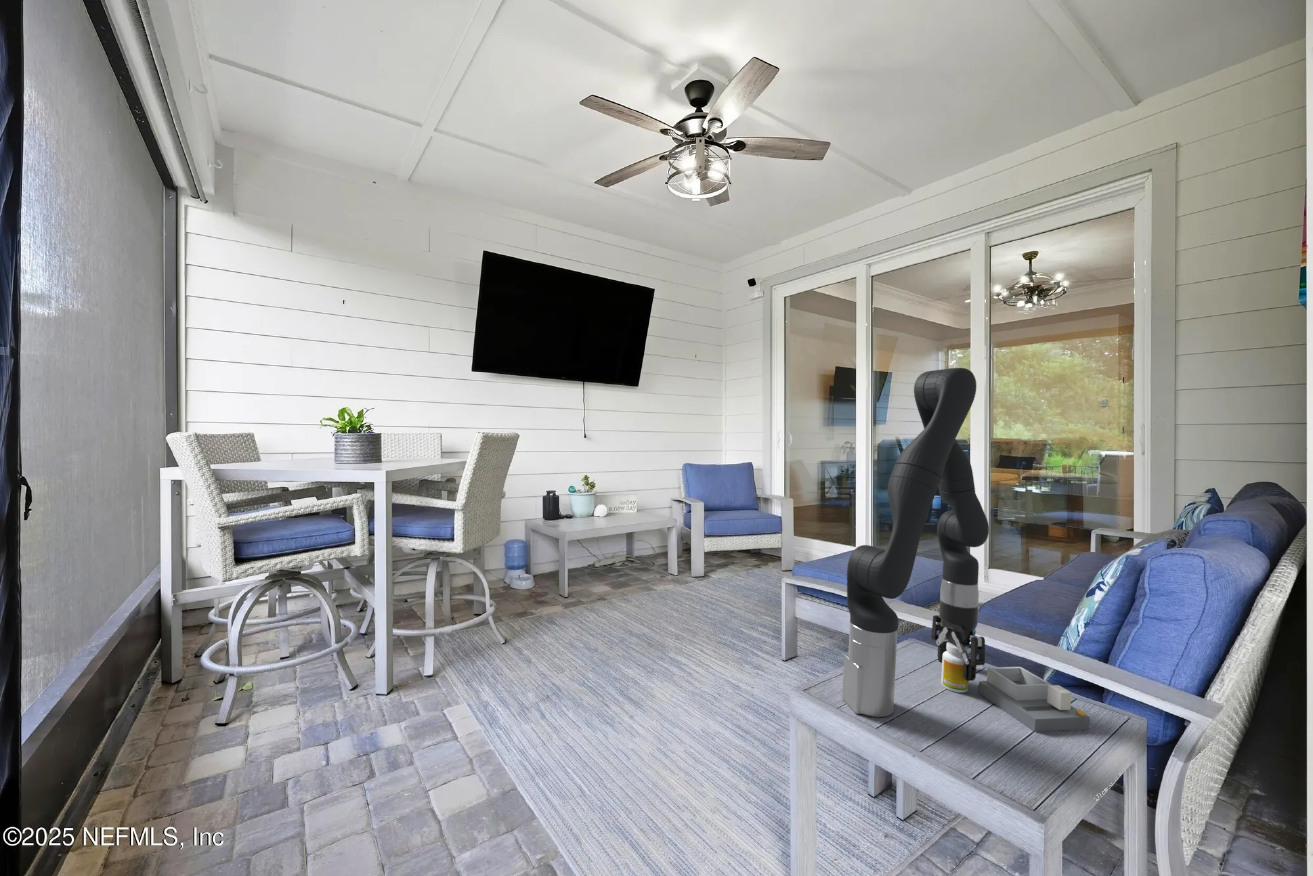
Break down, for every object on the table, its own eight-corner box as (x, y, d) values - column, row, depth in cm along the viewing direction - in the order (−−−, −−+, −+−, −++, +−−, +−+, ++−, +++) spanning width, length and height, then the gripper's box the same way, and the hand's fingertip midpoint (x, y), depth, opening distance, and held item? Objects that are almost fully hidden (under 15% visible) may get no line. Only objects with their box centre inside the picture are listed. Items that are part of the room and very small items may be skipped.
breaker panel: (1034, 731, 104) (1036, 704, 104) (978, 692, 119) (979, 668, 119) (1088, 728, 106) (1090, 701, 106) (1026, 690, 121) (1028, 666, 120)
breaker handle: (1059, 710, 107) (1061, 693, 107) (1047, 702, 110) (1048, 685, 110) (1070, 709, 107) (1071, 692, 107) (1057, 701, 110) (1058, 685, 110)
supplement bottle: (971, 694, 118) (974, 651, 117) (945, 691, 119) (947, 648, 118) (963, 683, 123) (965, 641, 123) (937, 680, 124) (940, 639, 124)
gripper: (998, 611, 114) (994, 685, 115) (952, 589, 128) (949, 656, 129) (966, 612, 113) (962, 687, 114) (923, 590, 127) (920, 657, 128)
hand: (955, 670), depth 121 cm, fingers open, 8 cm apart
